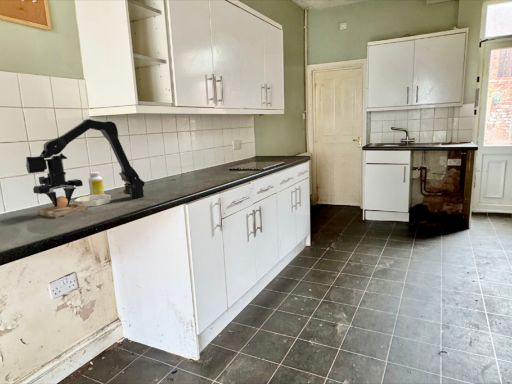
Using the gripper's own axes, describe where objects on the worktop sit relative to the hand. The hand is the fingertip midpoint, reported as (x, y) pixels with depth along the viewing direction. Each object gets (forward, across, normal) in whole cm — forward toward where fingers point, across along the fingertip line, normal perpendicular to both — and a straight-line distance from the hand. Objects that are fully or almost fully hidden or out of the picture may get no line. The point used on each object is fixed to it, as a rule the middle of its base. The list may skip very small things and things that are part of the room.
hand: (62, 205), depth 154 cm
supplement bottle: (+4, -28, -17) cm, 33 cm away
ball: (+1, 0, 0) cm, 1 cm away
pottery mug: (+4, -43, -6) cm, 43 cm away
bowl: (+3, -16, -2) cm, 16 cm away
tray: (+3, 0, 0) cm, 3 cm away
